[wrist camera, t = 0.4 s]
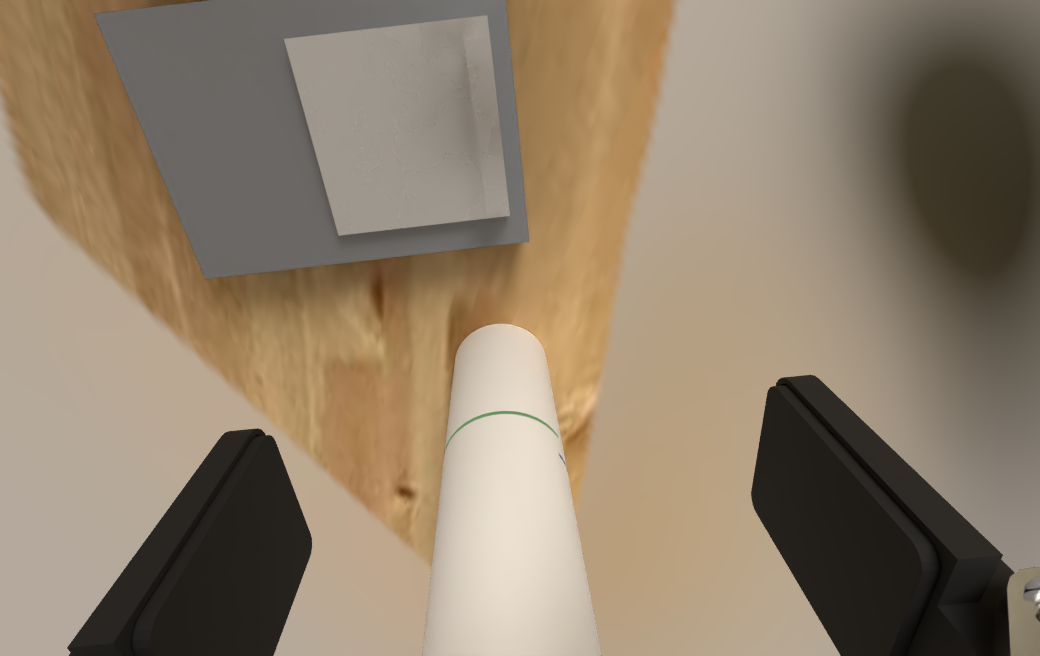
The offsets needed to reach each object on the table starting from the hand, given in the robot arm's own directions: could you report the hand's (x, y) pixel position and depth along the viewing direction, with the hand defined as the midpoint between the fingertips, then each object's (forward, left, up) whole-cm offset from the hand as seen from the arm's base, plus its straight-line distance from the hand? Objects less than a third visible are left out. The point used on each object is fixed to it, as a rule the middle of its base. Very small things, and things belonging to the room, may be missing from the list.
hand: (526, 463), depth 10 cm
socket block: (-4, -9, -27) cm, 28 cm away
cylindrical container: (+14, -2, -27) cm, 31 cm away
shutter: (-4, -5, -23) cm, 23 cm away
